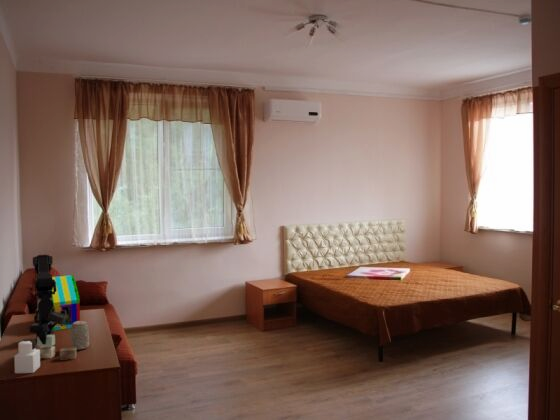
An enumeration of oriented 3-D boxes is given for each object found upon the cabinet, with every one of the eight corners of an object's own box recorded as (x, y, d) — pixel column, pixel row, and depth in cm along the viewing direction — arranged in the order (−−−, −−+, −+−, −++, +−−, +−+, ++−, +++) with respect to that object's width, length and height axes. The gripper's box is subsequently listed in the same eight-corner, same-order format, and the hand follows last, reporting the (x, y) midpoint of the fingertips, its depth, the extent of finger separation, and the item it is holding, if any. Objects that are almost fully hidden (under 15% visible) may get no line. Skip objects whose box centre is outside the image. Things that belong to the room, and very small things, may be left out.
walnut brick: (60, 360, 210) (59, 351, 210) (61, 357, 214) (61, 348, 213) (75, 359, 212) (75, 350, 211) (76, 356, 215) (76, 347, 215)
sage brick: (37, 346, 212) (37, 337, 212) (40, 343, 216) (40, 334, 215) (51, 346, 212) (51, 337, 212) (55, 343, 216) (54, 334, 216)
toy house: (80, 326, 258) (79, 278, 257) (51, 331, 251) (50, 281, 249) (69, 316, 278) (68, 271, 277) (43, 319, 271) (41, 273, 269)
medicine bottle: (22, 367, 203) (21, 337, 202) (40, 366, 203) (39, 337, 202) (14, 373, 195) (13, 343, 195) (33, 373, 196) (32, 343, 195)
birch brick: (37, 358, 213) (37, 349, 212) (41, 355, 216) (41, 346, 216) (51, 358, 213) (51, 349, 212) (55, 355, 216) (55, 346, 216)
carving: (71, 347, 226) (70, 321, 225) (89, 345, 229) (88, 319, 228) (71, 351, 220) (70, 325, 220) (89, 349, 223) (89, 323, 223)
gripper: (55, 312, 204) (56, 350, 205) (72, 301, 223) (73, 335, 224) (27, 312, 204) (28, 350, 205) (47, 301, 222) (48, 336, 223)
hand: (46, 342), depth 214 cm, fingers closed on sage brick, 3 cm apart
